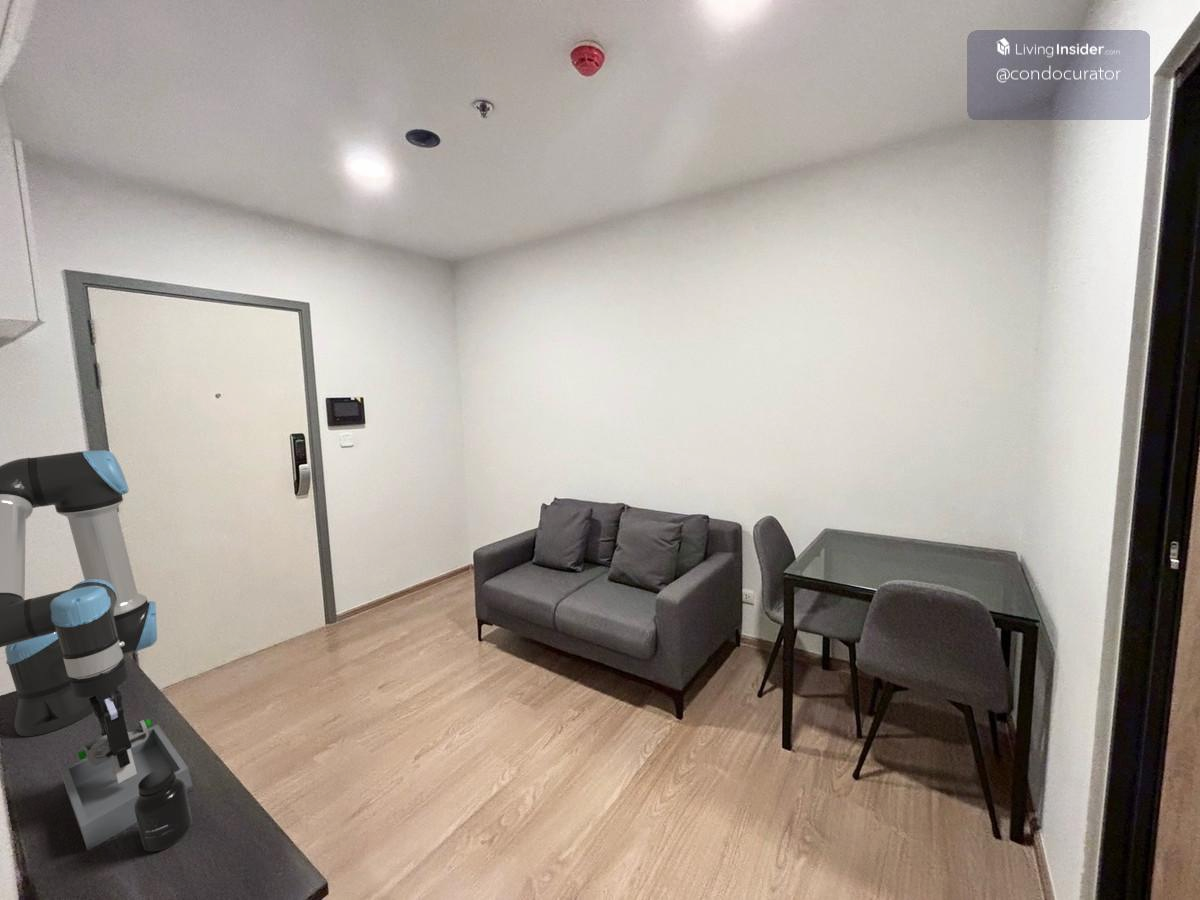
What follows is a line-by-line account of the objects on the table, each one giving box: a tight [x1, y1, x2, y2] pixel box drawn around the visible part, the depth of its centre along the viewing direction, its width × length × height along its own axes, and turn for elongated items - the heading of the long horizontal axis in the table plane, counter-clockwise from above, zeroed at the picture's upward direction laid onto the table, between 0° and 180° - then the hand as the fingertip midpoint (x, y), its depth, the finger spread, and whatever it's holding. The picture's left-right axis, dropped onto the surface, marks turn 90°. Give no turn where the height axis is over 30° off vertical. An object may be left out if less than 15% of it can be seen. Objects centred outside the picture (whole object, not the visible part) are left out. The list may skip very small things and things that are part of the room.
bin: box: [60, 723, 194, 852], centre depth 98 cm, size 22×15×5 cm
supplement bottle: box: [134, 767, 193, 853], centre depth 88 cm, size 7×7×12 cm
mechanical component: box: [77, 718, 152, 781], centre depth 98 cm, size 3×10×10 cm, turn 145°
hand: (125, 773), depth 98 cm, fingers closed on mechanical component, 3 cm apart
